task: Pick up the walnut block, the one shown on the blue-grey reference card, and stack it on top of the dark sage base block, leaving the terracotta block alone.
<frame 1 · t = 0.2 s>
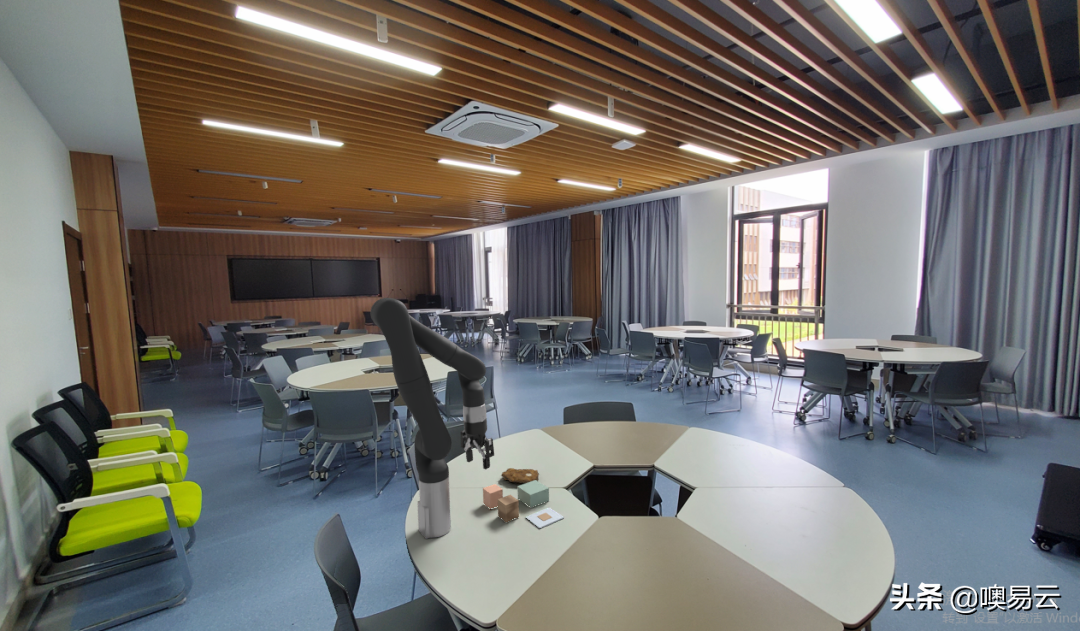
hand: (478, 464, 144), 18 cm above the table, tool pointing down, fingers open, 8 cm apart
decorative rock: (519, 481, 171), on the table
reference card: (544, 518, 143), on the table
base block: (533, 500, 155), on the table
terracotta block: (493, 505, 152), on the table
walnut block: (508, 517, 144), on the table
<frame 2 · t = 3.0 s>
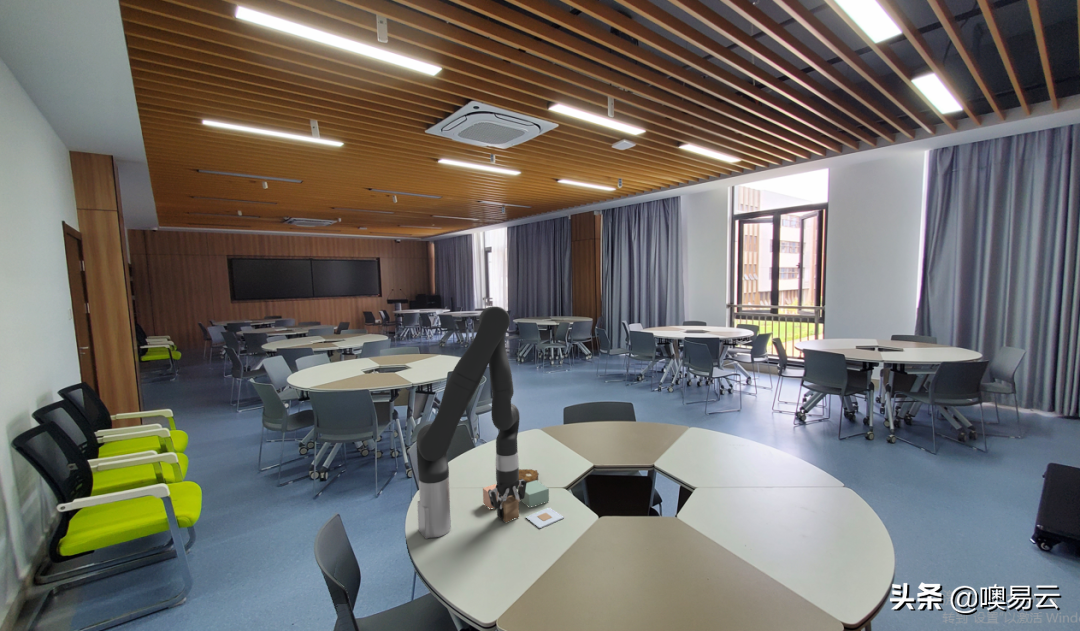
hand: (508, 514, 144), 1 cm above the table, tool pointing down, fingers closed on walnut block, 5 cm apart
walnut block: (508, 517, 144), on the table, touching gripper
everything else where it was.
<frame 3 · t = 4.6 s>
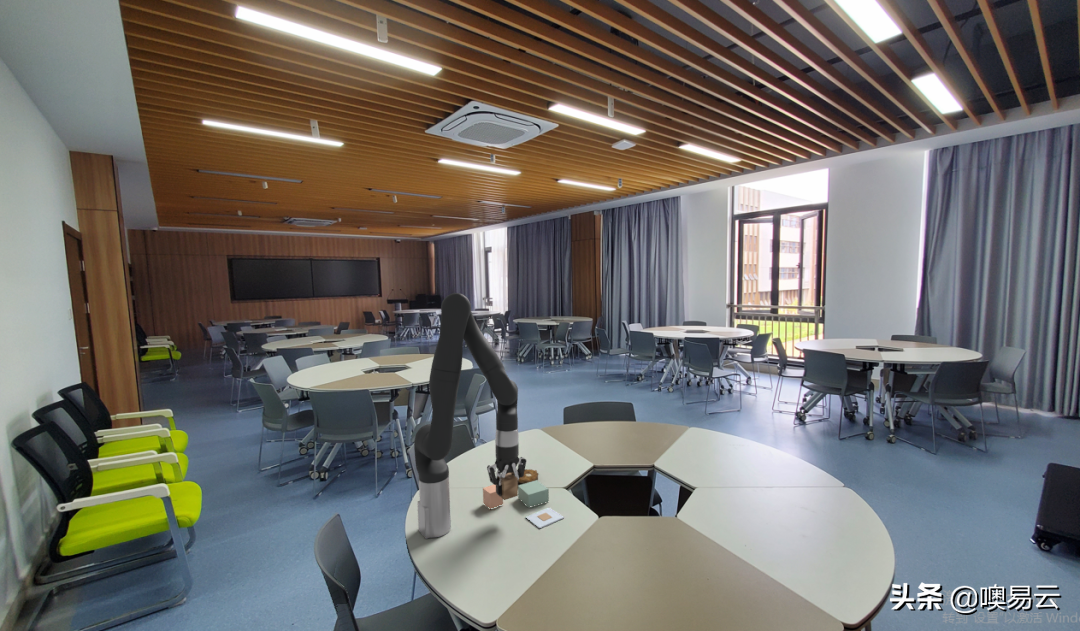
hand: (507, 492, 143), 9 cm above the table, tool pointing down, fingers closed on walnut block, 5 cm apart
walnut block: (507, 494, 143), point 8 cm above the table, touching gripper
everything else where it was.
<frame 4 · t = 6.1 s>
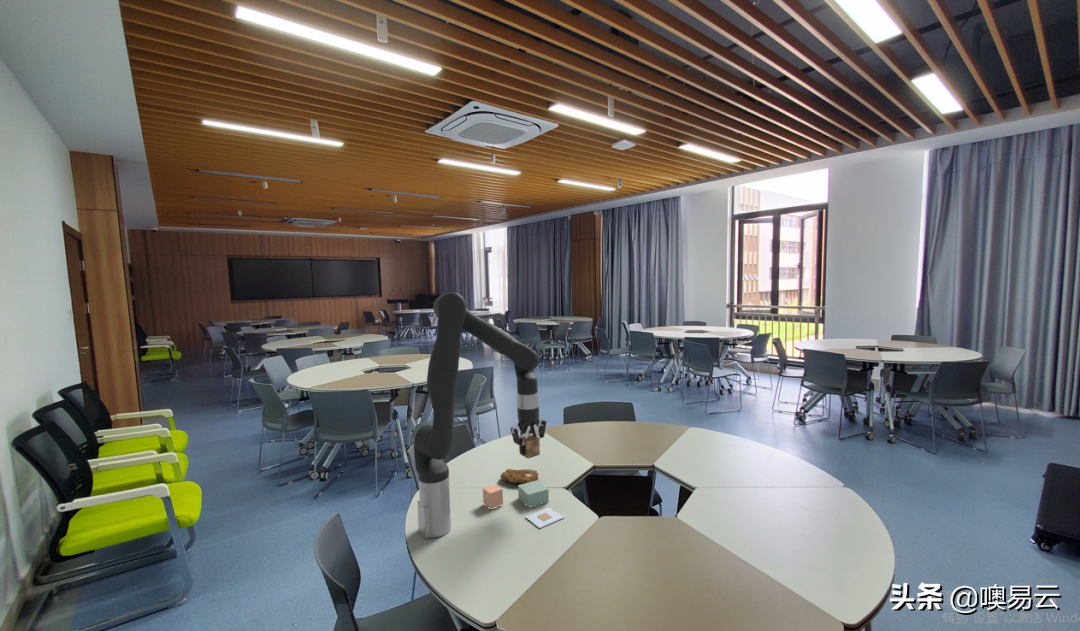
hand: (529, 452, 152), 18 cm above the table, tool pointing down, fingers closed on walnut block, 5 cm apart
walnut block: (529, 454, 152), point 17 cm above the table, touching gripper
everything else where it was.
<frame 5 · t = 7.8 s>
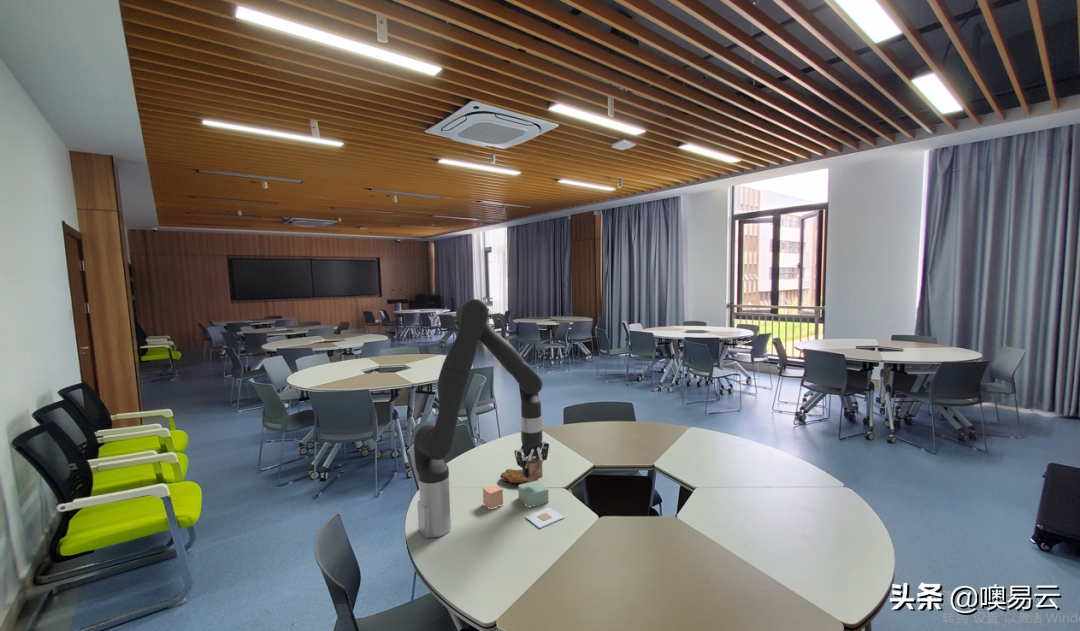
hand: (532, 474, 155), 9 cm above the table, tool pointing down, fingers closed on walnut block, 5 cm apart
walnut block: (532, 476, 155), point 8 cm above the table, touching gripper
everything else where it was.
when the fingers open (7 cm above the table, at t = 9.1 s): walnut block drops 2 cm, resting on base block.
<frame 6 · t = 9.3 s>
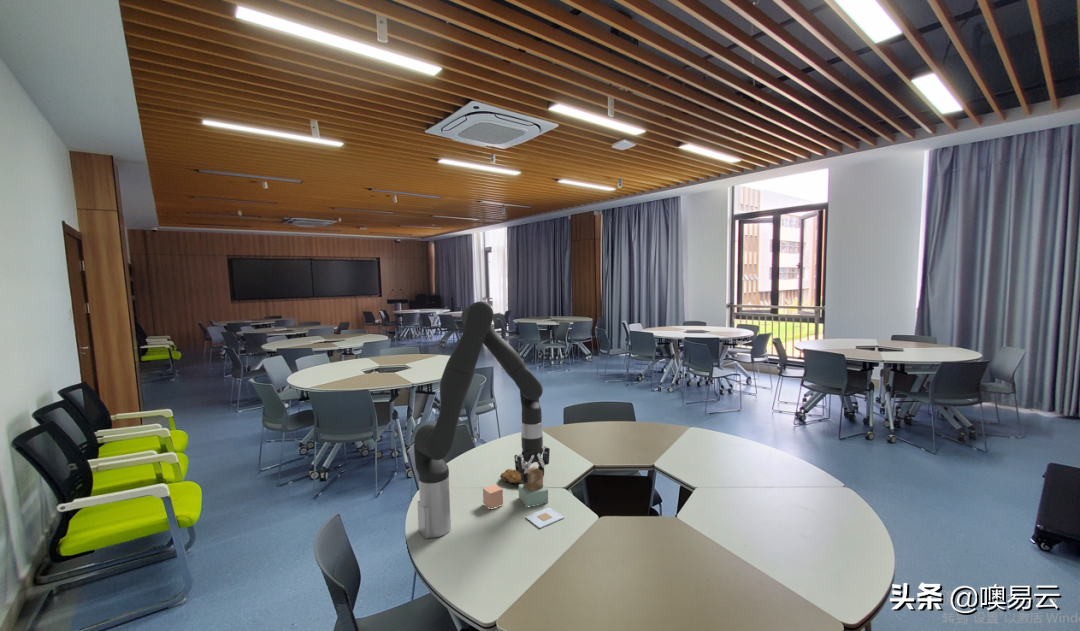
hand: (532, 479, 154), 7 cm above the table, tool pointing down, fingers open, 6 cm apart
base block: (533, 500, 155), on the table, touching walnut block
walnut block: (533, 487, 155), point 5 cm above the table, touching base block
everything else where it was.
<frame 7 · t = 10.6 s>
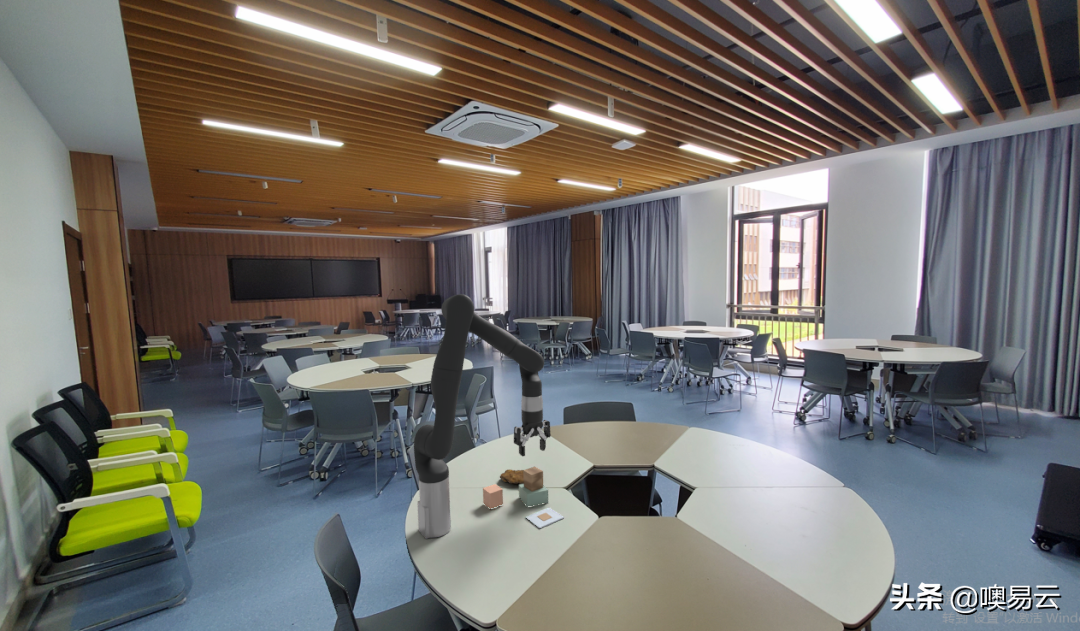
hand: (532, 452, 153), 17 cm above the table, tool pointing down, fingers open, 8 cm apart
nothing on the table moved.
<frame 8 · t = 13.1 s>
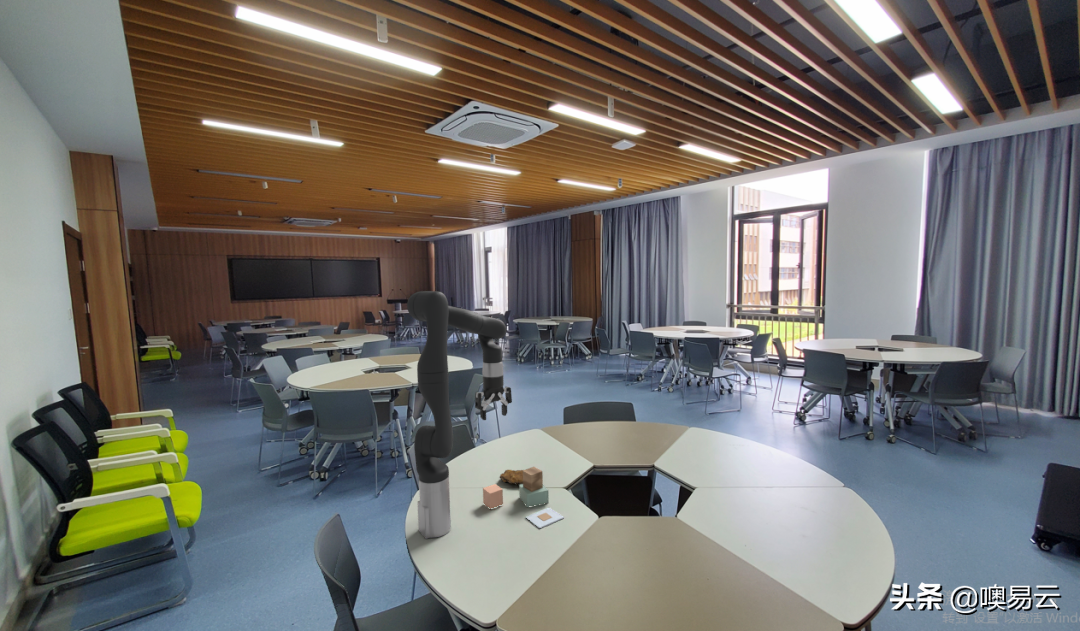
hand: (494, 417, 160), 28 cm above the table, tool pointing down, fingers open, 8 cm apart
nothing on the table moved.
at the end: walnut block 0.3 cm off-centre on the base block, point 5.0 cm above the base block's base; walnut block tilted 0°; the gripper is holding nothing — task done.
